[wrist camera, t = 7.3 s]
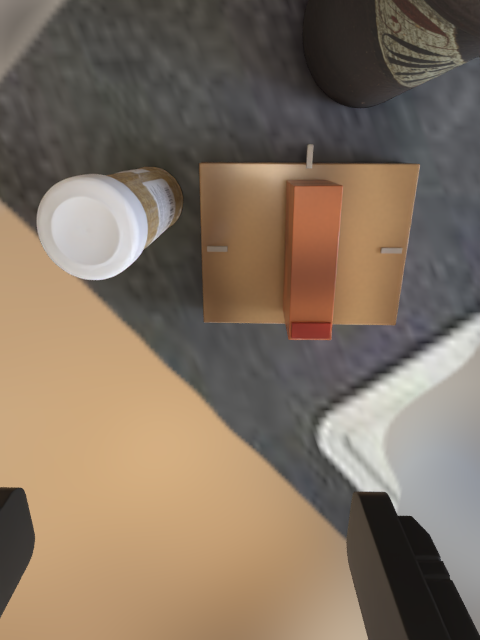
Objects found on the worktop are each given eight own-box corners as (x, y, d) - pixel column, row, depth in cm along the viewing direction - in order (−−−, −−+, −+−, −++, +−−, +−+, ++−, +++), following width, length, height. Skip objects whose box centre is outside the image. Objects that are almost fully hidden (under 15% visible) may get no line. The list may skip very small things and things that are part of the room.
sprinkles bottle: (130, 157, 30) (40, 160, 17) (192, 179, 30) (149, 197, 17) (116, 220, 31) (25, 264, 19) (175, 239, 32) (125, 296, 19)
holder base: (208, 321, 34) (203, 337, 31) (203, 144, 29) (198, 144, 26) (381, 323, 34) (394, 340, 31) (406, 145, 29) (424, 144, 26)
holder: (286, 180, 27) (294, 186, 22) (327, 179, 27) (344, 185, 22) (282, 311, 30) (288, 341, 25) (319, 311, 30) (331, 341, 25)
